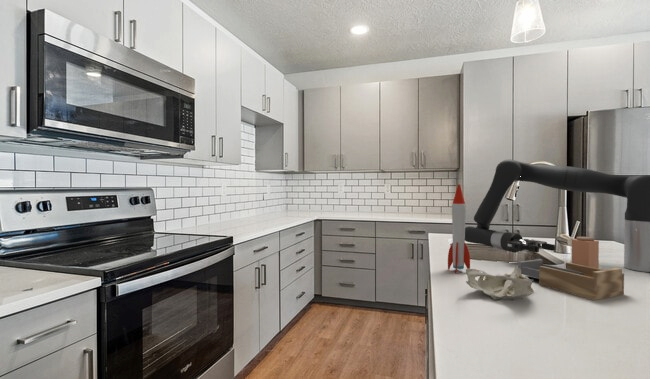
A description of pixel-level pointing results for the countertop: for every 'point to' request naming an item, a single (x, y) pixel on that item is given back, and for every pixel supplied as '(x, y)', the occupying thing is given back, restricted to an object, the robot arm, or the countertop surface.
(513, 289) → the anatomical model
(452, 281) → the countertop surface
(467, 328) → the countertop surface
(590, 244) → the tin
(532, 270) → the tray
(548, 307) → the countertop surface
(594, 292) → the dock
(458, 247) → the toy rocket
